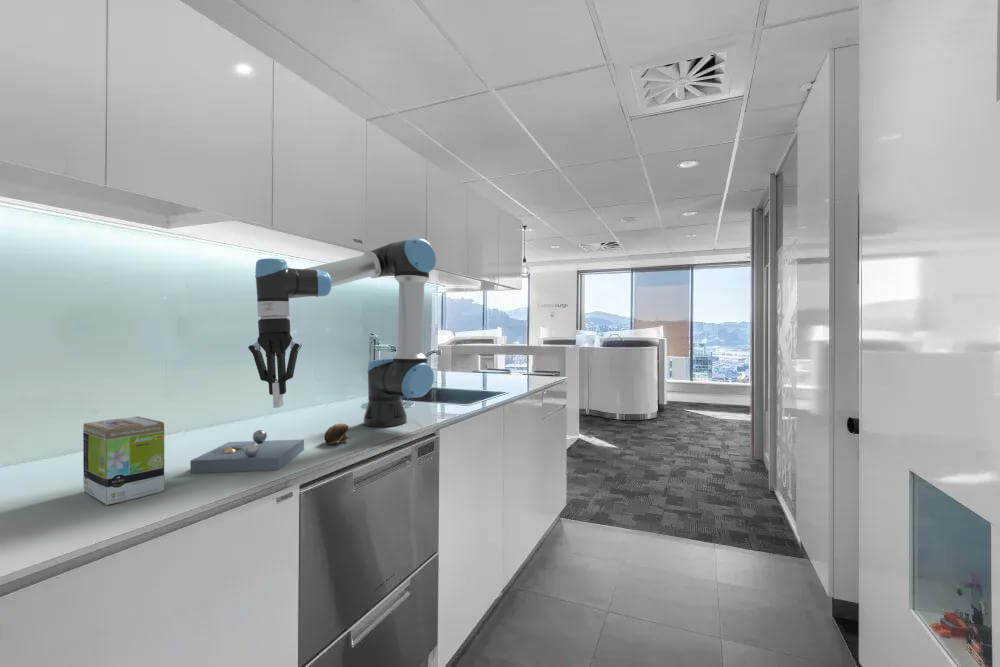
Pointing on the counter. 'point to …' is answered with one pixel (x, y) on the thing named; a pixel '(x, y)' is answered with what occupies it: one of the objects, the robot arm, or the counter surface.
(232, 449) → the copper ball
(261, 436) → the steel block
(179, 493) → the counter surface
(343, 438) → the mushroom
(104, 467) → the tea box
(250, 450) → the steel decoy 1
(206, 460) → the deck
